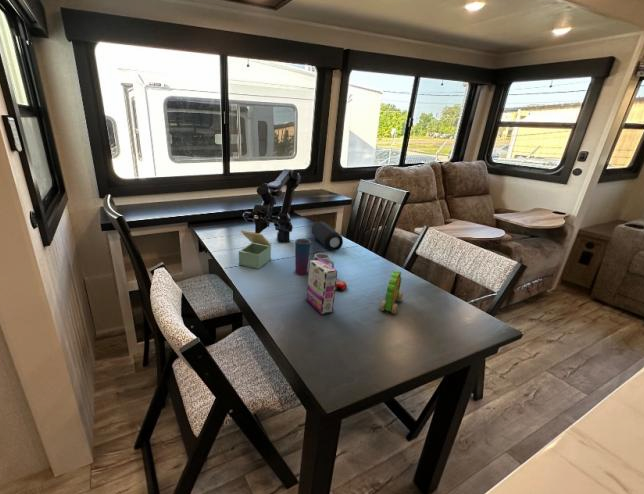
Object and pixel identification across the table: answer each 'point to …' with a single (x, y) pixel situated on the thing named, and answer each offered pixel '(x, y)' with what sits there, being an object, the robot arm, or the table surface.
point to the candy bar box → (321, 286)
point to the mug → (324, 258)
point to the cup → (302, 255)
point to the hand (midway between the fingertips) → (256, 234)
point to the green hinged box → (254, 255)
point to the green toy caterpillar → (393, 293)
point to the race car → (340, 285)
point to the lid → (256, 238)
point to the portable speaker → (327, 236)
